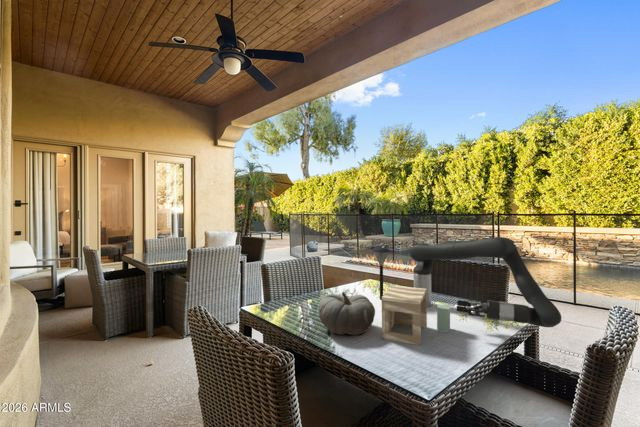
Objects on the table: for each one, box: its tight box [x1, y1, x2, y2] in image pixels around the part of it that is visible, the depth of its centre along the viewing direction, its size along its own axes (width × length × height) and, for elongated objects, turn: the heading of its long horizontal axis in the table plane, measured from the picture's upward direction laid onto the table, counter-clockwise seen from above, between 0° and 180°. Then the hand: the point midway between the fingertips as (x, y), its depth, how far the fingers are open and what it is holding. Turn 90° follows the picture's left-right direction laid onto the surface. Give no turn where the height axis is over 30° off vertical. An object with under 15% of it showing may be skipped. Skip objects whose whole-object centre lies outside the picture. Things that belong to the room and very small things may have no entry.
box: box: [381, 285, 428, 346], centre depth 136 cm, size 20×15×17 cm
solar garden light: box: [370, 246, 392, 301], centre depth 185 cm, size 12×12×30 cm
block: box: [436, 304, 451, 334], centre depth 139 cm, size 5×5×10 cm
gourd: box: [318, 291, 376, 336], centre depth 141 cm, size 25×25×17 cm
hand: (457, 305), depth 137 cm, fingers open, 8 cm apart
